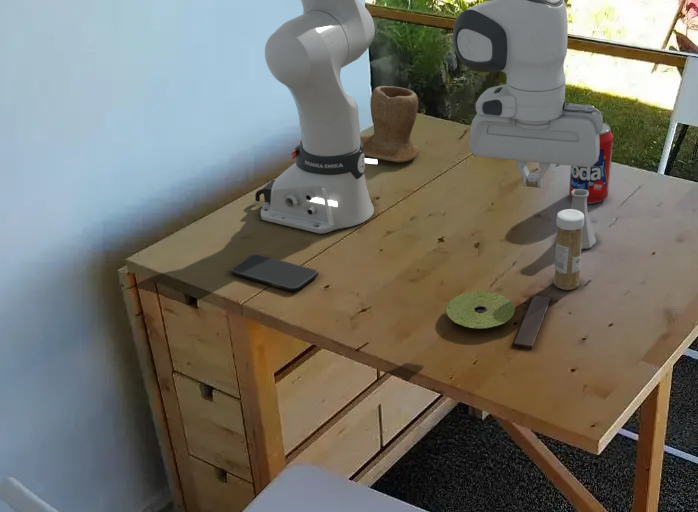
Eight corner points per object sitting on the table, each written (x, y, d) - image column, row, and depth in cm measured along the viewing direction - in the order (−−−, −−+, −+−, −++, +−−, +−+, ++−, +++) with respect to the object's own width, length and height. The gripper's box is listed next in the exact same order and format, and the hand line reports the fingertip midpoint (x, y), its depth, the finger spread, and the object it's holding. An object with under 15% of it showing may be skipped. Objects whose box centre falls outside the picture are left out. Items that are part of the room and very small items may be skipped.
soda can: (614, 195, 191) (620, 124, 182) (597, 209, 186) (603, 137, 177) (579, 186, 195) (584, 116, 186) (562, 200, 189) (566, 129, 181)
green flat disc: (501, 343, 148) (501, 332, 147) (436, 330, 152) (435, 319, 151) (523, 307, 157) (523, 297, 156) (460, 295, 160) (460, 286, 159)
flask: (594, 252, 172) (598, 202, 166) (555, 249, 173) (558, 199, 167) (597, 234, 178) (601, 185, 172) (559, 231, 179) (562, 182, 173)
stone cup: (430, 151, 211) (428, 85, 202) (402, 170, 203) (399, 103, 194) (374, 139, 217) (370, 75, 208) (345, 157, 209) (339, 91, 200)
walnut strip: (513, 346, 148) (513, 343, 147) (533, 298, 159) (533, 295, 159) (532, 349, 147) (532, 345, 147) (551, 300, 158) (551, 297, 158)
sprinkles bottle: (583, 289, 161) (588, 218, 153) (557, 292, 161) (561, 221, 153) (574, 276, 165) (579, 206, 157) (549, 279, 164) (553, 209, 156)
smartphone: (254, 252, 172) (320, 270, 166) (255, 257, 173) (321, 275, 166) (227, 270, 167) (294, 289, 161) (228, 274, 167) (295, 294, 161)
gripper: (607, 99, 141) (601, 184, 149) (476, 88, 146) (477, 171, 154) (600, 113, 136) (594, 200, 144) (465, 102, 141) (466, 187, 149)
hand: (532, 185), depth 149 cm, fingers closed
